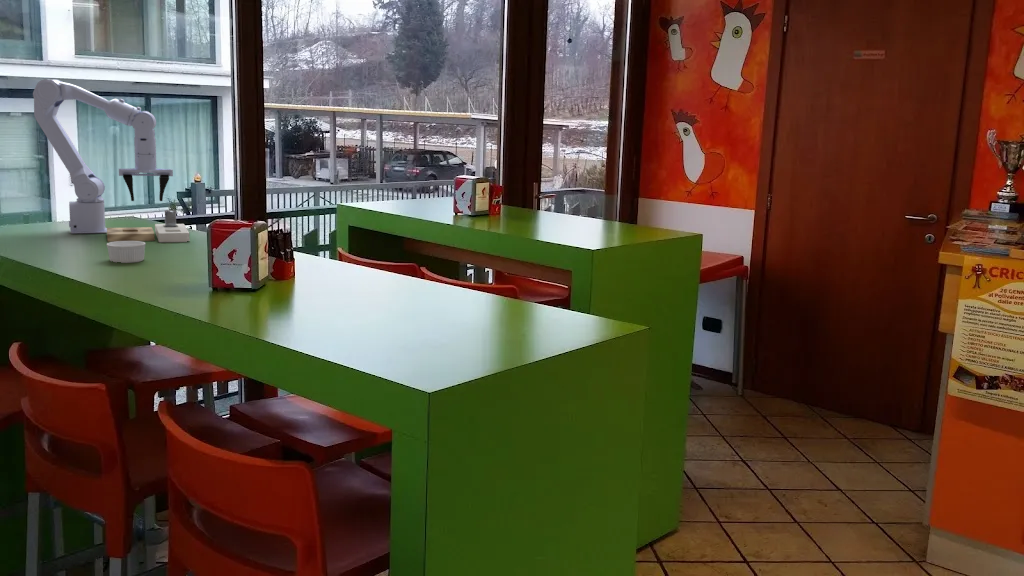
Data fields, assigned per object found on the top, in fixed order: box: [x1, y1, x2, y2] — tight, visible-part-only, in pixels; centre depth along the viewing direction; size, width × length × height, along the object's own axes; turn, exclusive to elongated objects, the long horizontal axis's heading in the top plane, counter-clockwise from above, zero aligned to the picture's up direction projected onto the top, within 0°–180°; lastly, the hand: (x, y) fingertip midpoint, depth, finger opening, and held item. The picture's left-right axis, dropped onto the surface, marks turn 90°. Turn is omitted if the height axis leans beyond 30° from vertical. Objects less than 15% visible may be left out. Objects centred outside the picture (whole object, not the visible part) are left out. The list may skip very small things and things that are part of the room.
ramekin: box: [106, 241, 146, 264], centre depth 224 cm, size 9×9×4 cm
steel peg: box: [164, 209, 177, 227], centre depth 264 cm, size 3×3×7 cm
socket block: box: [106, 226, 156, 242], centre depth 257 cm, size 12×12×2 cm
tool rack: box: [154, 223, 190, 243], centre depth 261 cm, size 8×18×2 cm, turn 24°
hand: (146, 200), depth 265 cm, fingers open, 7 cm apart
